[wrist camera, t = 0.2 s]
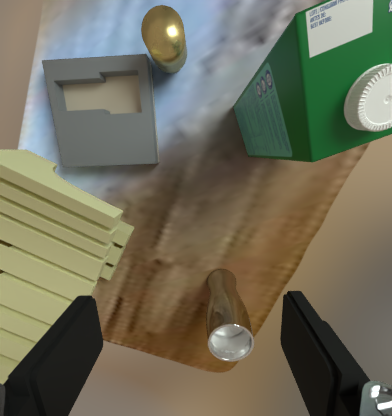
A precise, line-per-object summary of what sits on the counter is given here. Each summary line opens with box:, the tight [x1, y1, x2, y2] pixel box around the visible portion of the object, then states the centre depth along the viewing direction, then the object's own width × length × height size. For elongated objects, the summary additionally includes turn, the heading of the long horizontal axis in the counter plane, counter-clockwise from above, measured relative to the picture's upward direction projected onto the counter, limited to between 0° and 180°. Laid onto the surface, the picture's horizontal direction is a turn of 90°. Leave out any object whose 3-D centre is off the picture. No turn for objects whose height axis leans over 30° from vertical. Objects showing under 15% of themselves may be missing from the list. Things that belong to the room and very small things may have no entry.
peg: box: [141, 5, 187, 73], centre depth 30 cm, size 5×5×9 cm
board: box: [42, 54, 159, 167], centre depth 35 cm, size 16×16×3 cm
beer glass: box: [206, 269, 254, 361], centre depth 37 cm, size 7×7×15 cm
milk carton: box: [233, 0, 392, 162], centre depth 24 cm, size 9×9×25 cm
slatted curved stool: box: [0, 150, 135, 385], centre depth 34 cm, size 30×16×18 cm, turn 153°
